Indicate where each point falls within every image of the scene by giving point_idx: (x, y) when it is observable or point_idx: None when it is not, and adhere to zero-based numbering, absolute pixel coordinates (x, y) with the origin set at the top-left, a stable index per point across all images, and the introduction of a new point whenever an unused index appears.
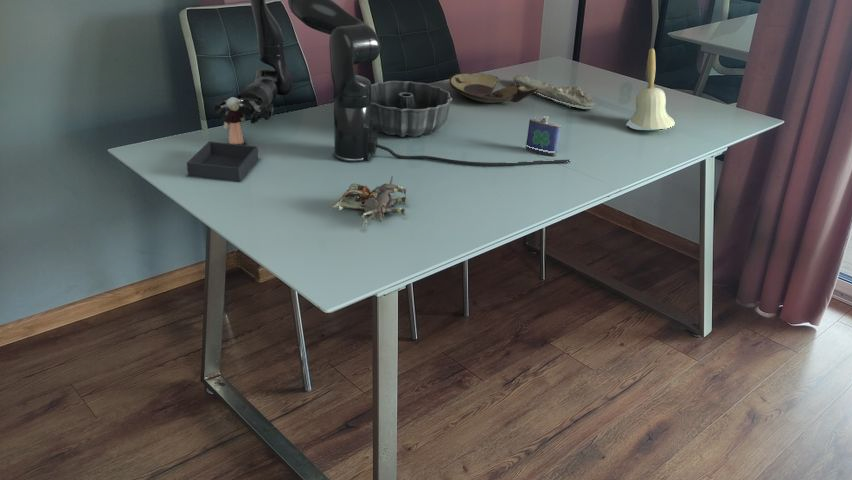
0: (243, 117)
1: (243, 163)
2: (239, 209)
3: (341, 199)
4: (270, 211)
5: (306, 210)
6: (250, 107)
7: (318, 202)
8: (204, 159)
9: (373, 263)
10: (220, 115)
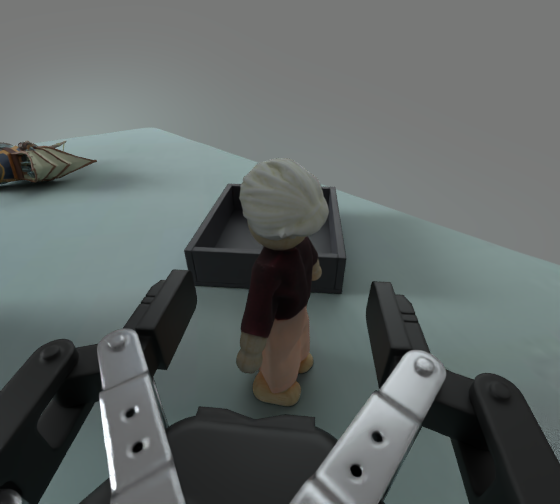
0: (241, 338)
1: (220, 195)
2: (222, 172)
3: (70, 157)
4: (180, 172)
5: (129, 176)
6: (183, 422)
7: (102, 186)
8: (331, 249)
9: (93, 142)
10: (370, 298)
